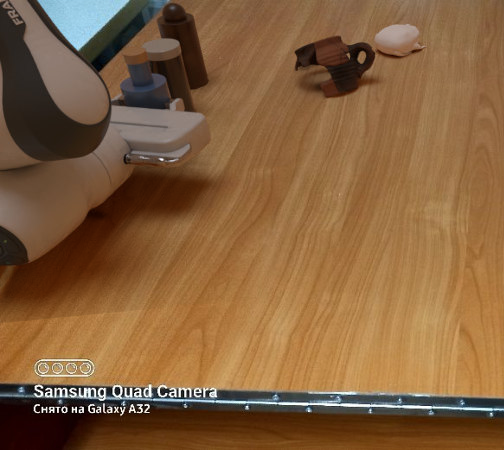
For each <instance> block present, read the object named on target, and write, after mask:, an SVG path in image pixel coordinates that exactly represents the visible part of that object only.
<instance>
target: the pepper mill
mask: <svg viewBox="0 0 504 450" xmlns="http://www.w3.org/2000/svg"><path fill="white" fill-rule="evenodd" d="M156 24H157V27H158V30H159V31H158V32H159V35H160V39H175V40H177V41H179V43H180V47H181V54H182V58H183V62H184V66H185V70H186V74H187V78H188V82H189V86H190V90H196V89H198V88H202V87H203V86H205V85H207V84H208V83H209V77H208V73H207V68H206V63H205V60H204V55H203V51H202V46H201V43H200V38H199V34H198V30H197V25H196V20H195V16H194V15H193V14H192V13H189V12H186V9H185V8H184V7H183V6H182V5H181V4H179V3H177V2H169V3H167V4H165V5H164V6H163V8H162V10H161V16H159V17H158V18H157V19H156Z"/></svg>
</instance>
